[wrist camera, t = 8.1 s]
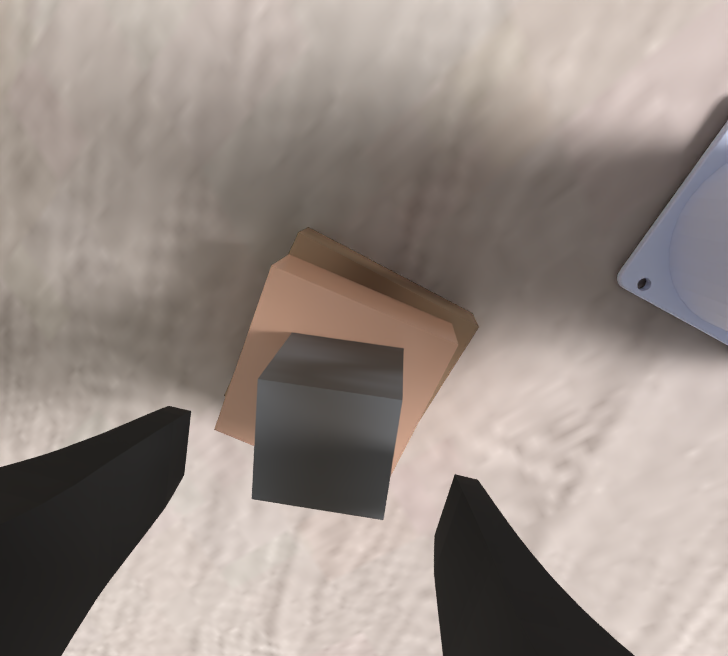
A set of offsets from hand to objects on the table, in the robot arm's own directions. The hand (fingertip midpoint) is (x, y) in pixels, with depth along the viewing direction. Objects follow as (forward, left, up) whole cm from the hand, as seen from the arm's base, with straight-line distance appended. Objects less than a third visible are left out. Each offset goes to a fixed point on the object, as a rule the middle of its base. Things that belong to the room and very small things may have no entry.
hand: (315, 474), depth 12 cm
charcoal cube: (0, 0, -5) cm, 5 cm away
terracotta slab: (0, 0, -8) cm, 8 cm away
